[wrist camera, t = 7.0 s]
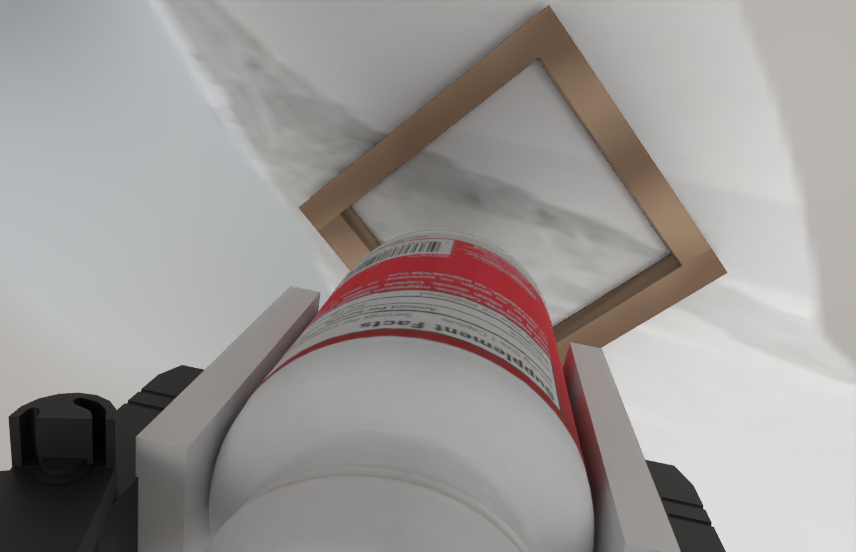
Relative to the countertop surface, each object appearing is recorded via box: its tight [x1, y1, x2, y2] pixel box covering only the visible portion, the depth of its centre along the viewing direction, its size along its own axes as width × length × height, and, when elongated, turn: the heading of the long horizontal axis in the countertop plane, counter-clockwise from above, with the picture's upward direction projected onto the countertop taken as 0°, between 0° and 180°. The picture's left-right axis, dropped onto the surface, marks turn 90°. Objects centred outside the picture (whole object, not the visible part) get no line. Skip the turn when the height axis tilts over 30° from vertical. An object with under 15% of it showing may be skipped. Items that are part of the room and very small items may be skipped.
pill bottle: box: [204, 230, 594, 552], centre depth 12 cm, size 6×6×11 cm
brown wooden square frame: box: [299, 5, 727, 369], centre depth 30 cm, size 15×15×2 cm
